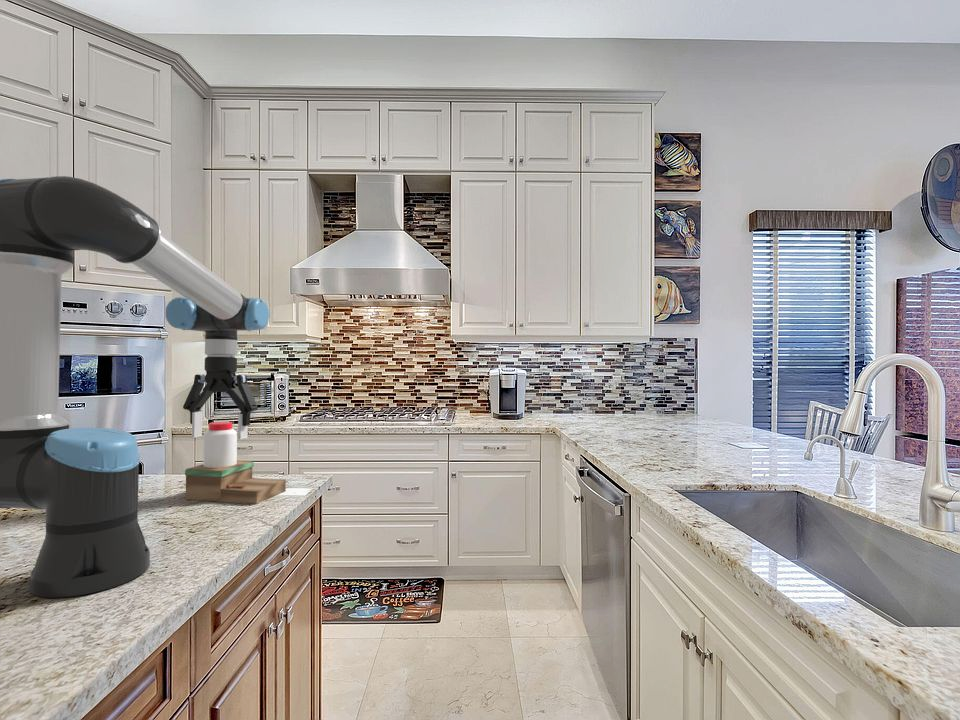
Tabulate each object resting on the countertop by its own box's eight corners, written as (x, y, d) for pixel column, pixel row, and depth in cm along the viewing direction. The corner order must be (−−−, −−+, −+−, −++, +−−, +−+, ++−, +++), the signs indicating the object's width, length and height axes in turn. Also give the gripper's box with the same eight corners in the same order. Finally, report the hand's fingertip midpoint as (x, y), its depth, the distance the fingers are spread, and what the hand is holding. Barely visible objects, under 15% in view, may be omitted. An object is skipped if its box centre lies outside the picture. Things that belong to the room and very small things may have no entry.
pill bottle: (242, 462, 131) (243, 421, 131) (225, 468, 124) (225, 425, 124) (215, 461, 132) (216, 420, 132) (196, 467, 124) (196, 424, 124)
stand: (255, 504, 119) (256, 473, 119) (184, 499, 123) (185, 469, 123) (285, 491, 131) (285, 462, 131) (220, 486, 135) (220, 459, 135)
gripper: (272, 356, 129) (271, 437, 129) (191, 356, 134) (189, 434, 134) (254, 356, 122) (252, 441, 122) (168, 355, 127) (166, 437, 126)
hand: (219, 437), depth 128 cm, fingers open, 13 cm apart
